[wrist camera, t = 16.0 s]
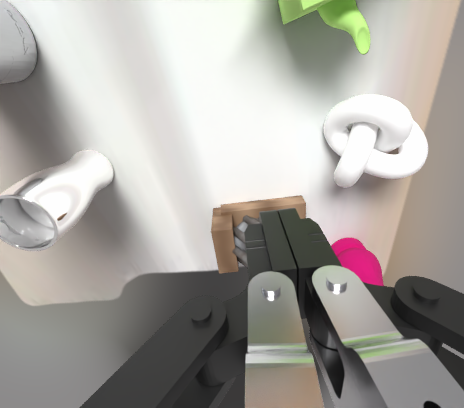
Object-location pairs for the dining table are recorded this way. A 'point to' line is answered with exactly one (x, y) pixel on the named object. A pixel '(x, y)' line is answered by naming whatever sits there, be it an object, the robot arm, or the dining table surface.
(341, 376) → the robot arm
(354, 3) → the kettle
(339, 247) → the pepper mill
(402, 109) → the white knot
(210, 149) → the dining table surface
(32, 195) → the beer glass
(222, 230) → the knife block
